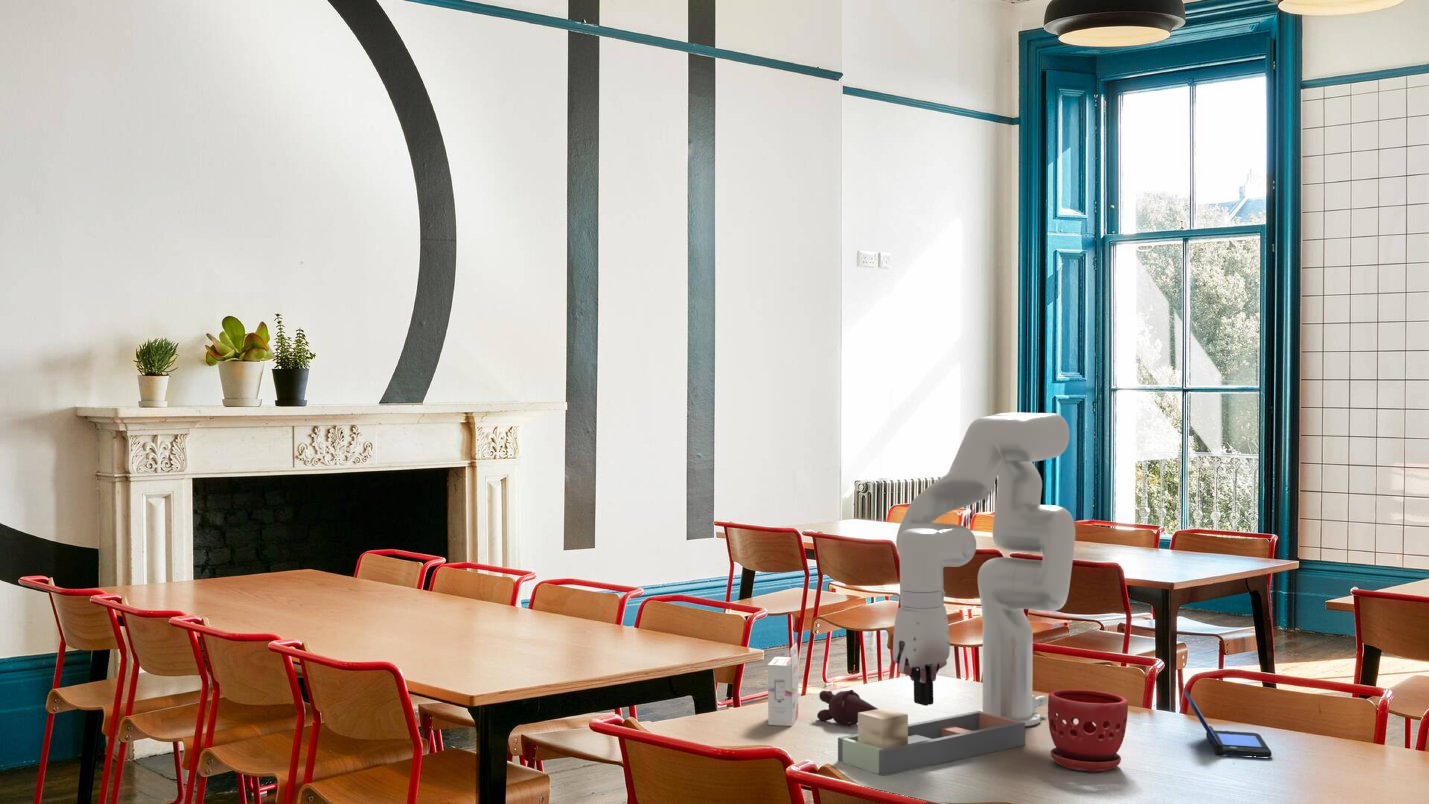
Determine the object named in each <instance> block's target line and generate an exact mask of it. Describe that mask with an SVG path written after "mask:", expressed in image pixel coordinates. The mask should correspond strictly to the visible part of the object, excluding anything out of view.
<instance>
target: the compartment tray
mask: <svg viewBox="0 0 1429 804" xmlns="http://www.w3.org/2000/svg"><path fill="white" fill-rule="evenodd" d="M1022 746H1026V726H1025V722H1021V721H1017V720H1012V719H1008V718H1004V717H1000V716H996V715H992V714H988V713H984V712H980V711H977V710H975V711H971V712H966V713H960V714H955V715H950V716H945V717H939V718H933V719H929V720H928V719H927V720H924V721H923V720H922V721H918V722H913V723H908V744H906V745H901V746H896V747H891V748H886V749H881V748H878V747H875V746H871V745H868V744H865V743H861V742H858V733H856V734H850V735H845V736H839V737H837V761H838V762H839V763H842V764H846V765H849V766H851V767H854V768H855V767H856V768H859V769H861V770H865V771H868V772H871V773H874V774H877V775H881V776H884V777H885V776H890V775H893V774H899V773H903V772H909V771H911V770H916V769H922V768H925V767H929V766H930V767H931V766H934V765H939V764H944V763H949V762H953V761H957V760H962V759H967V758H970V757H972V758H973V757H976V756H981V755H984V754H989V753H993V752H998V751H1003V750H1007V749H1011V748H1017V747H1022Z"/></svg>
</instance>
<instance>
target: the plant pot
mask: <svg viewBox="0 0 1429 804" xmlns="http://www.w3.org/2000/svg"><path fill="white" fill-rule="evenodd" d="M1047 698H1048V699H1047V719H1048V728H1049V734H1050V736H1051V739H1052V742H1053V745H1054V747H1053V748H1052V749H1051V750H1050V751H1049V752H1050V756H1051V759H1053V761H1054V762H1055V763H1056V764H1058V765H1060V766H1062V767H1064V768H1067V769H1069V770H1071V771H1081V772H1082V771H1083V772H1105V771H1109V770H1112V769H1115V768H1116V767H1117V766H1118V765H1119V764H1120V763H1121V762H1122V761H1121V760H1122V757H1121V755H1120V754H1119V753H1118V752H1119V750H1120V748H1121V746H1122V744H1123V742H1124V739H1125V735H1126V729H1127V724H1128V723H1127V721H1128V713H1129V712H1128V710H1129V702H1128V700H1127V698H1125V697H1123V696H1121V695H1118V694H1114V693H1111V692H1105V691H1098V690H1090V689H1089V690H1088V689H1072V688H1071V689H1069V688H1068V689H1056V690H1053V691H1051V692H1048V697H1047ZM1075 719H1077V720H1078V721H1077V723H1074V720H1075ZM1064 721H1065V722H1064Z"/></svg>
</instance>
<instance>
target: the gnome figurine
mask: <svg viewBox="0 0 1429 804" xmlns="http://www.w3.org/2000/svg"><path fill="white" fill-rule="evenodd" d="M819 700H821V701H822V702H824V703H825V704H827V705H828V709H826V708H825V709H822V710H819V711H818V713H817V714H816V717H817V718H818V719H819V720H820V721H826V722H827V721H829V720H834V721H835V722H836V724H840V725H843V726H847V727H849V728H850V727H854V726H856V725H858V713H860V712H865V711H871V710H876V709H879V708H878V707H876V706H874V705H872V704H871V703H869V702H867V701H865V700H864V699H862V698H860V695H859V694H858V693H857V692H856V691H854V689H850V690H841V691H838V692H837V693H833V691H832V690H829V691H828V690H821V691H820V692H819Z"/></svg>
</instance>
